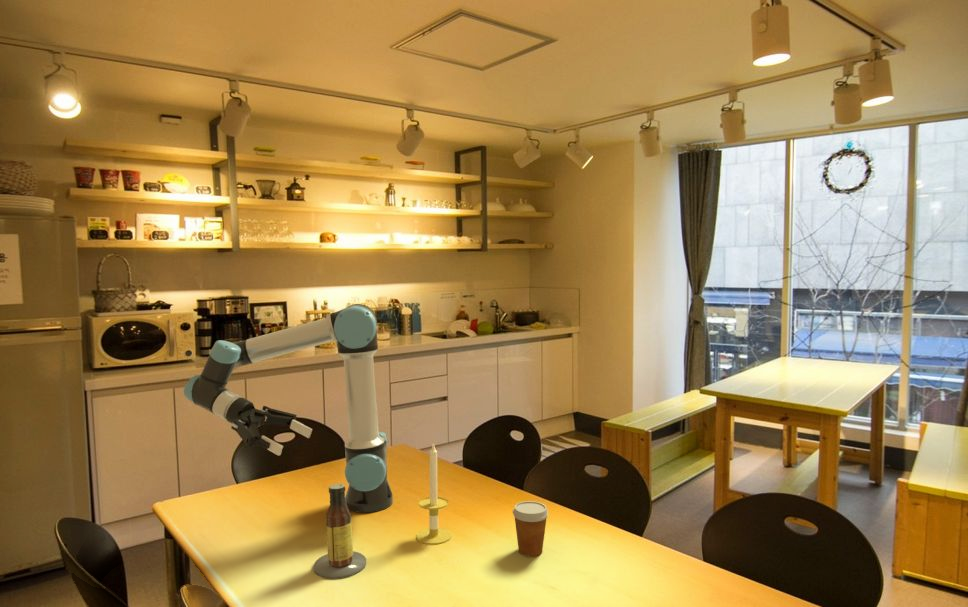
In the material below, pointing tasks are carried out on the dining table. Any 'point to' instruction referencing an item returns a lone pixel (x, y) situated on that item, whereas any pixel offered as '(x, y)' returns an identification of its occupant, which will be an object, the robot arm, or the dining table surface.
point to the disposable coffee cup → (530, 526)
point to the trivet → (328, 571)
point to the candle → (433, 508)
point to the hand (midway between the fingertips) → (296, 442)
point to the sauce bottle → (339, 528)
